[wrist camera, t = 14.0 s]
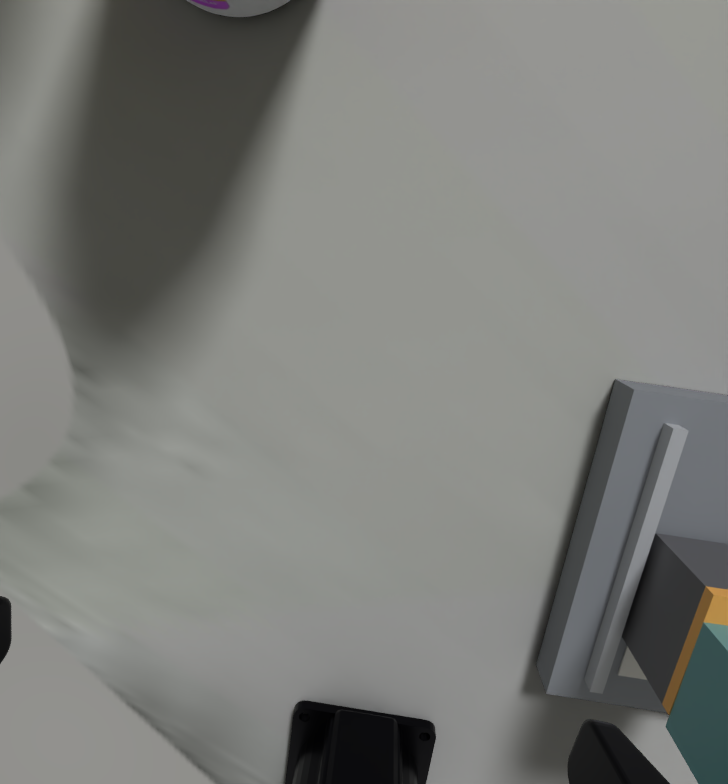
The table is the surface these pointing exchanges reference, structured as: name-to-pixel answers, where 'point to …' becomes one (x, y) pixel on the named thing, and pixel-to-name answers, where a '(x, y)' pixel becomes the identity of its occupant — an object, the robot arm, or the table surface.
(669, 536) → the block
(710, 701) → the teal cube
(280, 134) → the table surface
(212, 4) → the supplement bottle
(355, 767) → the robot arm
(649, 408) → the breaker panel
